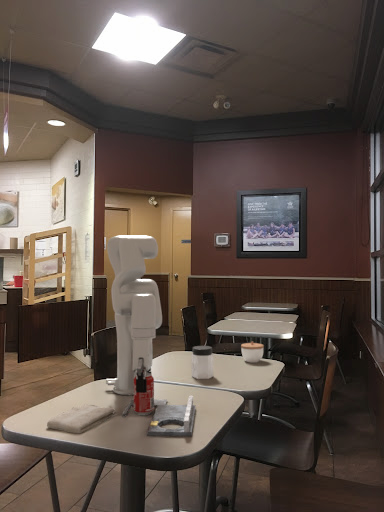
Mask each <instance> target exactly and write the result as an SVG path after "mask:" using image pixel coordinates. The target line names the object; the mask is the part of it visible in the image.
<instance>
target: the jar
mask: <svg viewBox="0 0 384 512" xmlns="http://www.w3.org/2000/svg"><path fill="white" fill-rule="evenodd" d="M191 377H192V378H194V379H197V380H209V379H211V378H212V377H214V353H213V347H212V346H209V345H197V346H192V353H191Z"/></svg>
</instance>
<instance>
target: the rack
mask: <svg viewBox="0 0 384 512" xmlns="http://www.w3.org/2000/svg"><path fill="white" fill-rule="evenodd" d="M195 414H196V405H195V404H194V396H193V395H189V396H188V400H187V404H166V405H158V407H156V409H155V412H154V414H153V417H152V419H151V422H150V423H149V426H148V428H147V431H146V436H147V437H188V438H189V437H192V435H193V429H194V421H195ZM169 424H172V425H173V424H175V425H181V427H178V428H164V427H161V426H163V425H169Z"/></svg>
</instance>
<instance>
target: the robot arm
mask: <svg viewBox="0 0 384 512" xmlns="http://www.w3.org/2000/svg"><path fill="white" fill-rule="evenodd" d="M106 245H107V246H106V249H107V256H108V260H109V263H110V265H111V267H112V269H113V273H114V279H113V281H112V283H111V284H112V285H111V304H112V309H113V312H114V322H115V329H116V340H117V342H116V347H117V348H116V350H117V351H116V352H117V353H116V354H117V355H116V356H117V360H116V361H117V367H116V369H117V370H116V372H117V373H116V375H117V376H116V377H115V378H106V380H105V384H106V385H107V386H113V387H112V392H113V393H115V394H117V395H124V396H132V395H133V396H134V378H135V376H136V392H137V393H146V392H147V379H146V372H148V373H151V374H152V366H153V339H156V335H157V334H156V330H157V329H159V328H160V327H161V326H162V324H163V314H162V305H161V300H160V299H161V298H160V292H159V288H158V287H159V286H158V285H157V282H156V281H155V280H153V279H150V278H143V277H144V275H145V274H146V271H147V268H146V263H145V260H146V259H147V260H151V259H156V257H158V253H159V245H158V242H157V239H156V238H155V237H153V236H151V235H150V236H149V235H115V236H112V237H110V238H109V239H108V241H107V244H106ZM141 278H142V279H141ZM143 372H144V375H143Z"/></svg>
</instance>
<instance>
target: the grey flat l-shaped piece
mask: <svg viewBox="0 0 384 512" xmlns="http://www.w3.org/2000/svg"><path fill="white" fill-rule="evenodd" d="M167 403H168V399H155V398H154V408H157V407H158V405H167ZM125 407H126V408H125V409H124V410H123V412H122V414H121V415H122V418H124V417H125V418H126V417H127V415H128V413H129V412H130V410H131V408H134V398H132V399H131V400H130V402H128V405H127V406H125Z"/></svg>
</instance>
